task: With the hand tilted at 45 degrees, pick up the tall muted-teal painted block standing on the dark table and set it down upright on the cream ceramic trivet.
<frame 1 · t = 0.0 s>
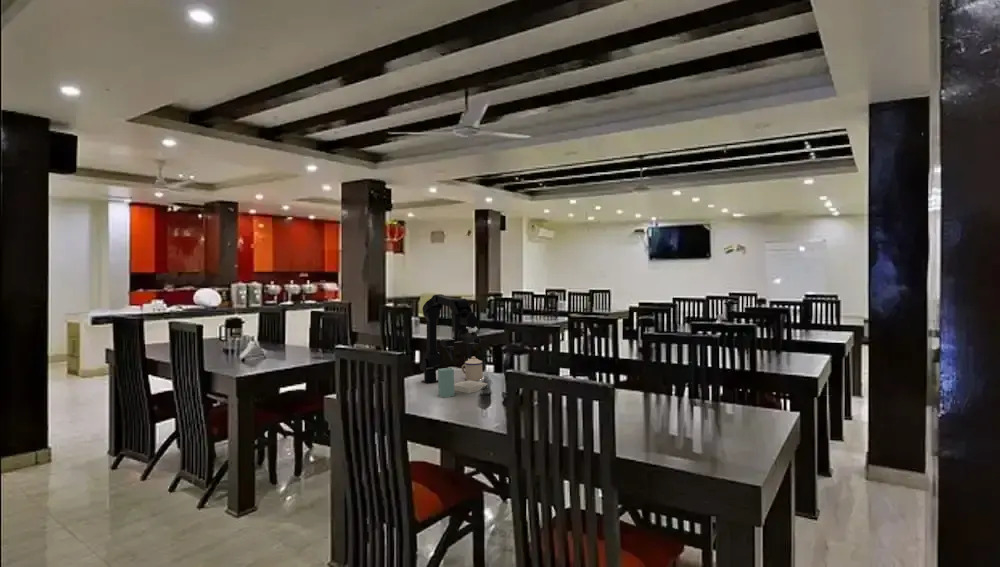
hand: (460, 359, 273), 15 cm above the table, tool pointing down, fingers open, 9 cm apart
teal block: (446, 395, 266), on the table
teacup with lid: (471, 379, 301), on the table
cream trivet: (469, 389, 278), on the table
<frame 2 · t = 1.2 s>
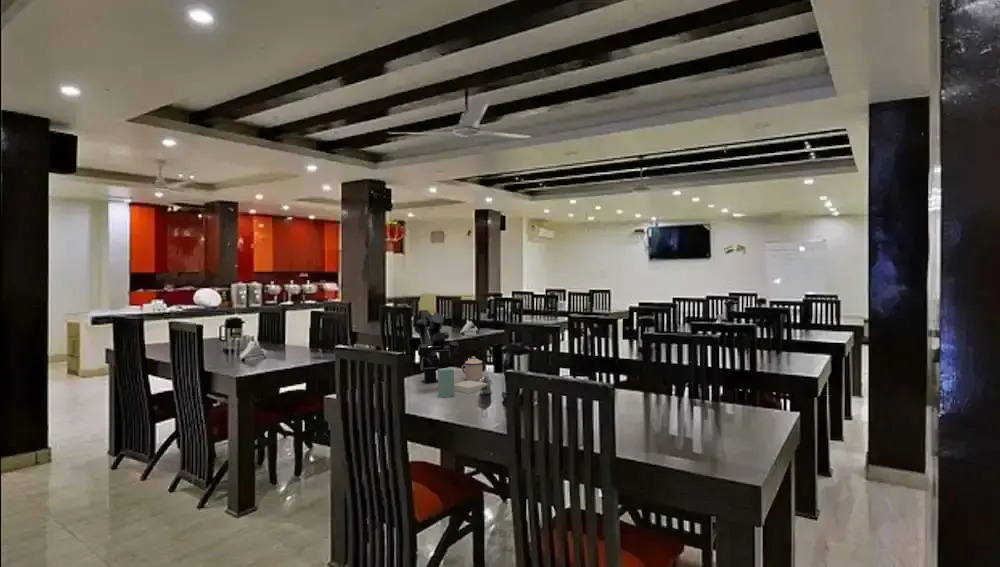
hand: (441, 363, 273), 13 cm above the table, tool tilted 45°, fingers open, 9 cm apart
nothing on the table moved.
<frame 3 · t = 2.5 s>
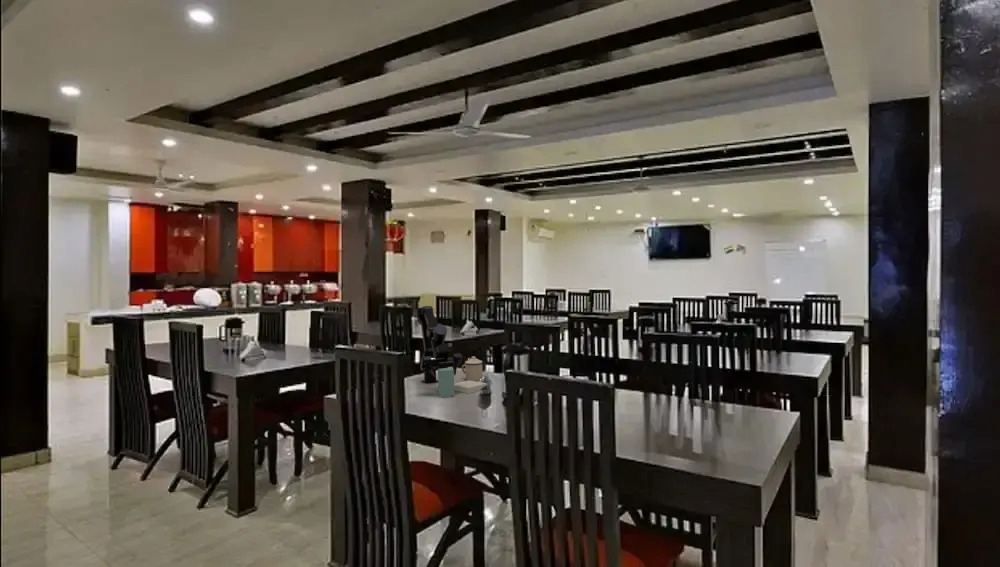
hand: (445, 375, 267), 9 cm above the table, tool tilted 45°, fingers open, 9 cm apart
nothing on the table moved.
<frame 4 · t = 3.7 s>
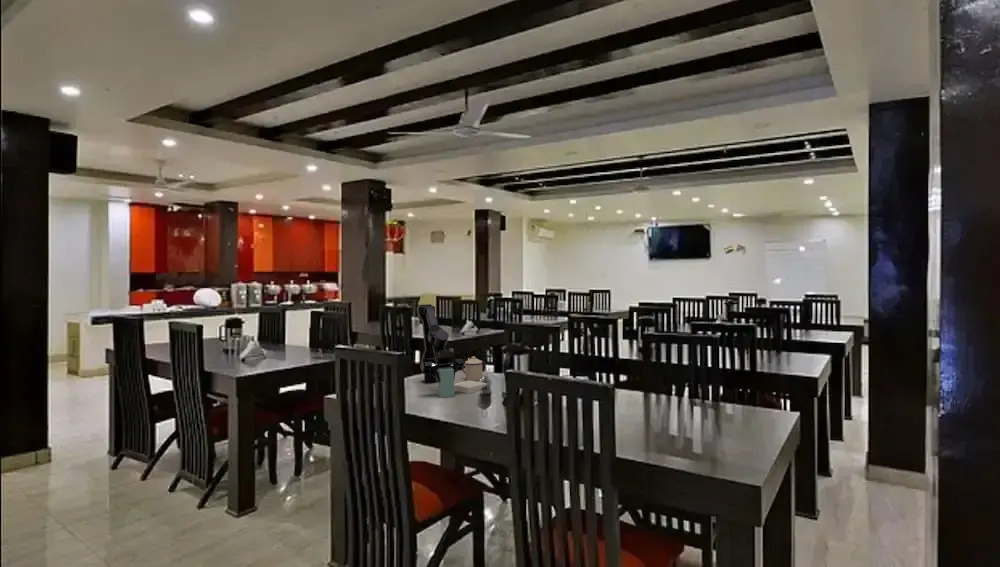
hand: (446, 381, 264), 7 cm above the table, tool tilted 45°, fingers closed on teal block, 6 cm apart
teal block: (446, 395, 266), on the table, touching gripper
everything else where it was.
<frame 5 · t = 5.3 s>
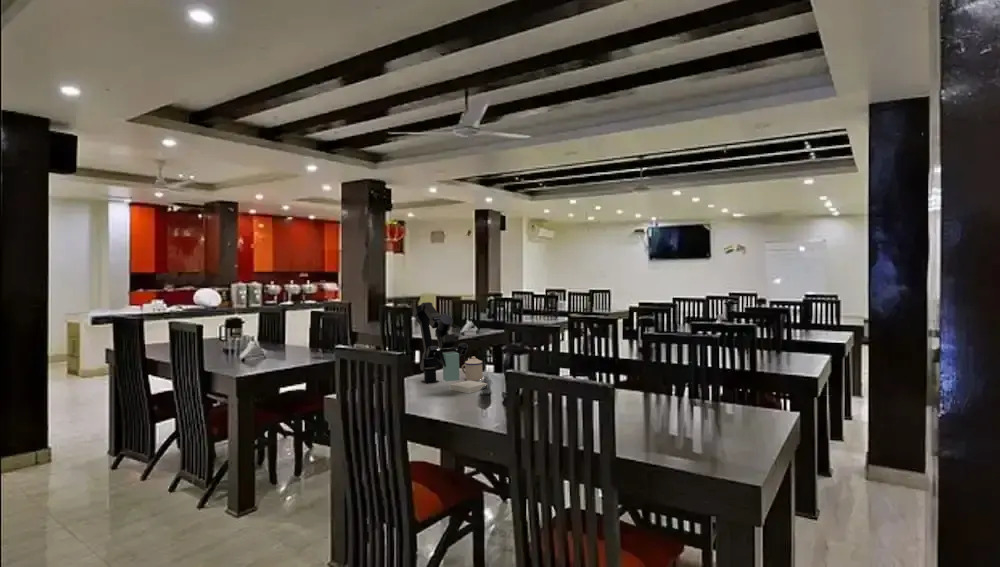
hand: (452, 365, 266), 13 cm above the table, tool tilted 45°, fingers closed on teal block, 6 cm apart
teal block: (451, 379, 268), point 7 cm above the table, touching gripper
everything else where it was.
when the fingers open (10 cm above the table, at t = 7.1 s): teal block drops 1 cm, resting on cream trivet.
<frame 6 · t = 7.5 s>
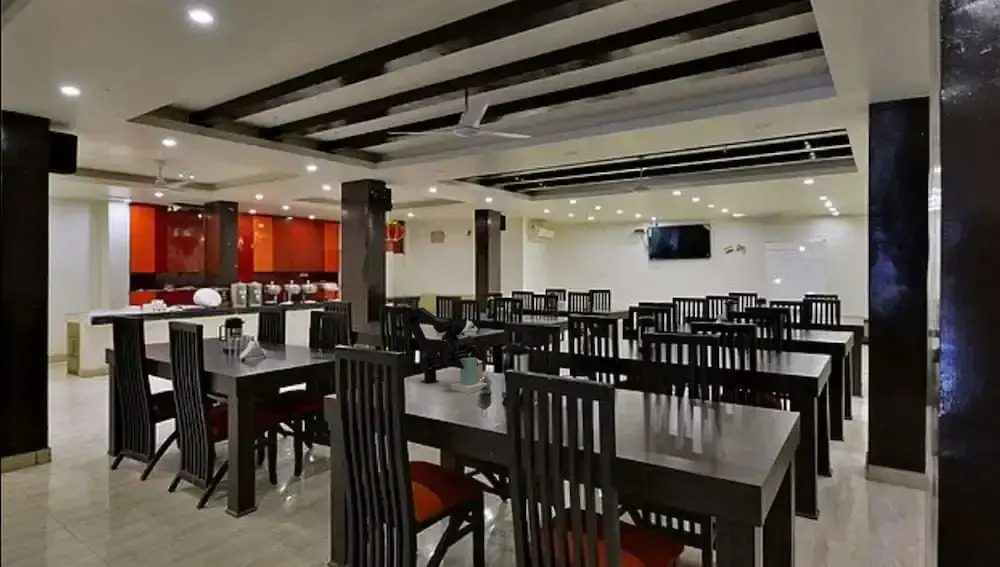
hand: (470, 367, 277), 11 cm above the table, tool tilted 45°, fingers open, 9 cm apart
teal block: (468, 383, 278), point 2 cm above the table, touching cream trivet
everything else where it was.
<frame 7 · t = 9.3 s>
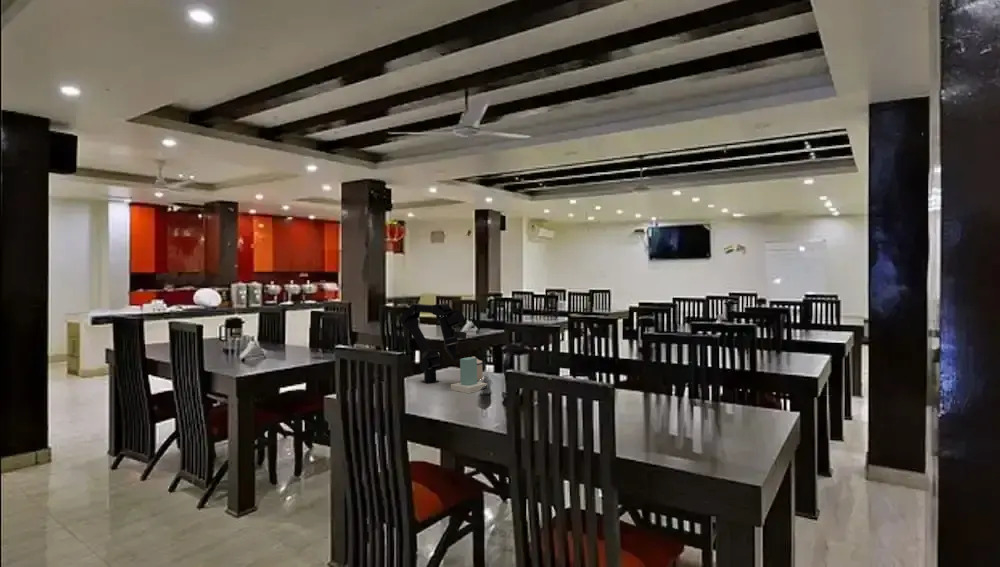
hand: (455, 360, 284), 13 cm above the table, tool tilted 20°, fingers open, 9 cm apart
nothing on the table moved.
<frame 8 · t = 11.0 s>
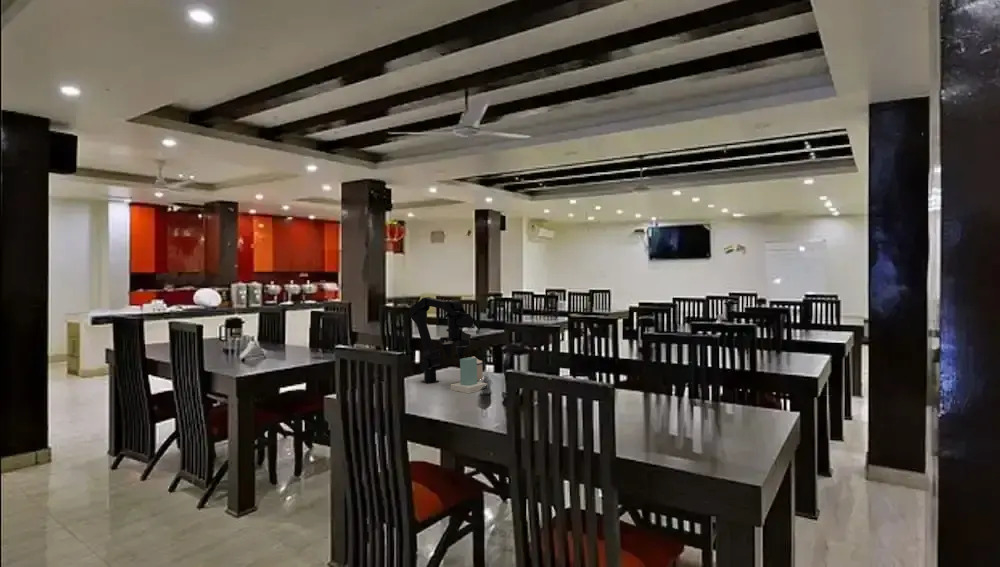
hand: (454, 359, 285), 13 cm above the table, tool pointing down, fingers open, 9 cm apart
nothing on the table moved.
at the end: teal block inside the target area on the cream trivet (0.0 cm from its centre), point 2.5 cm above the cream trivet's base; teal block tilted 0°; the gripper is holding nothing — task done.
